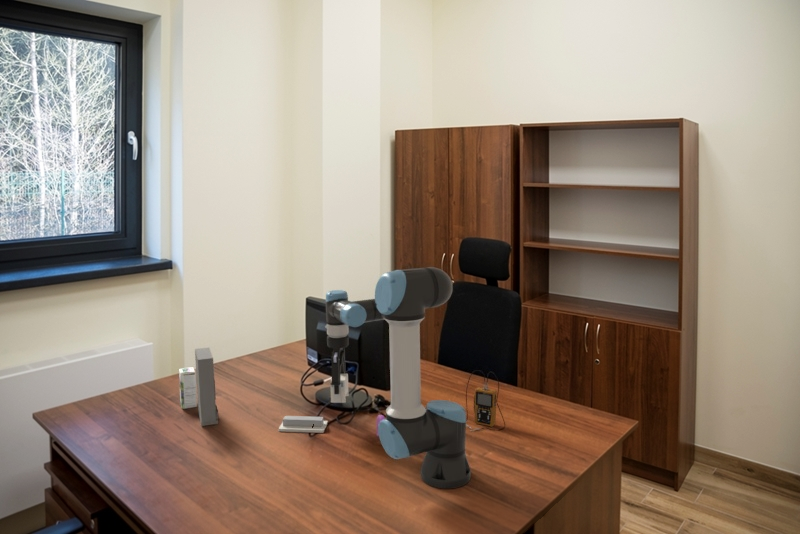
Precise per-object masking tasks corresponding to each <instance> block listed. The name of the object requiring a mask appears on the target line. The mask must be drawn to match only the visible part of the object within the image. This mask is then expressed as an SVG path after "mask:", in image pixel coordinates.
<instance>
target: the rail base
mask: <svg viewBox="0 0 800 534" xmlns="http://www.w3.org/2000/svg"><path fill="white" fill-rule="evenodd" d="M313 424H314V427H313V428H312V426H313ZM327 426H328V420H324V416H311V415H310V416H309V415H308V416H305V415H304V416H303V415H302V416H301V415H285V416H284V417H283V418H282V422H281V424H280V425H279V427H278V430H277V431H278V432H283V433H284V432H286V433H289V432H290V433H292V432H293V433H315V434H316V433H318V434H319V433H320V434H324V432H325V431H326V428H327Z"/></svg>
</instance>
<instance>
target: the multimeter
mask: <svg viewBox="0 0 800 534" xmlns="http://www.w3.org/2000/svg"><path fill="white" fill-rule="evenodd" d="M477 371H478V372H480V373H482V374H483V377H484V379H483V387H480V386H478V387H476V388H475V390H474V397H473V414H474V423H475V425H478V424H479V425H483V426H488V427H486V429H488V430H489V431H490V430H491V431H494V429H492V428H493V427H494V426H495V425H496V422H497V421H496V419H497V418H496V417H497V408H498V410H499V412H500V415H501V417H502V420H503V424H504V426H503V428H500V429H499V431H501V430H503V429H505V428H506V423H505V419H504V415H503V413H502V411H501V409H500V407H499V404H498V398H499V397H498V396H499V393H500V392H499V391H500V382H499V378H498V376H496V374H495V373H494V372H493V371H489V372H488V373H487V376H486V375H485V373H484V371H482V370H481V369H480V370H478V369H476V370H475V369H474V371H472V372H471V373H470V375H469V377H468V380H467V381H468V382H467V384H466V390H465V403H466V408H468V401H467V400H468V399H467V397H468V396H467V394H468V386H469V382H470V380H471V377H472V375H473V374H474V373H475V372H477ZM491 373H492V374H493V375H494V377H495V379H496V380H497V385H498V387H497V389H498V390H495V389H489V383H488V381H489V380H488V378H489V374H491ZM468 417H469V415H468V411H466V422H468ZM489 427H492V428H489ZM466 428H470V429H471V430H470V429H469V431H470V432H471V431H472V432H473V431H478V430H479V431H480V430H483V429H485V427H482V428H481V427H480V428H479V427H478V428H474V429H473V428H472V427H471V426H470V425H468V424H467V423H466Z"/></svg>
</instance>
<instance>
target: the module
mask: <svg viewBox="0 0 800 534" xmlns="http://www.w3.org/2000/svg"><path fill="white" fill-rule="evenodd" d="M330 383H332V377H331V378H330V381H329V384H330ZM340 384H341V403H340V404H343V403H345V404H346V402H347V401H346V397H349V374H348V373H347V374H341V375H340ZM329 388H330V403H333V385H331V384H330V387H329Z"/></svg>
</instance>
